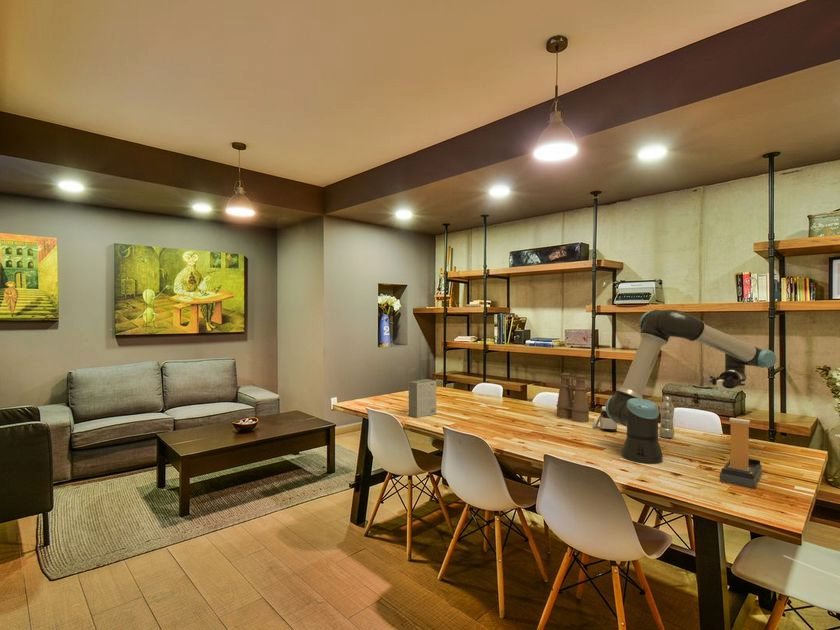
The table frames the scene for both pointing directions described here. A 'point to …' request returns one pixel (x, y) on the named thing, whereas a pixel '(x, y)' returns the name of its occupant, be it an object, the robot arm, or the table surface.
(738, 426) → the tan upright block
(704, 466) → the table surface
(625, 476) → the table surface
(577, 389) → the binoculars
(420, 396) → the hard drive box
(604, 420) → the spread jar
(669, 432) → the plastic bottle
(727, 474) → the dark grey stand
